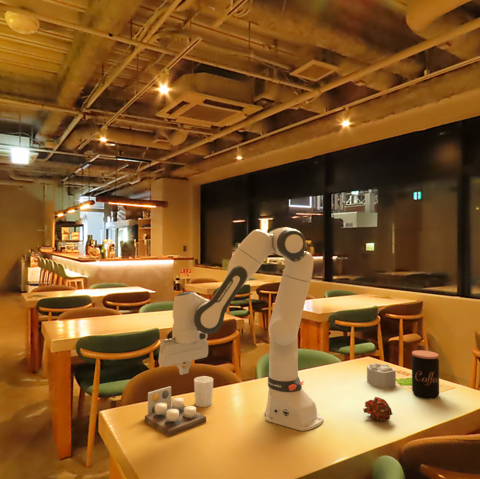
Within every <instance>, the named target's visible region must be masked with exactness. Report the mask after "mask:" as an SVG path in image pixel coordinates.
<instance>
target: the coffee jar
mask: <svg viewBox="0 0 480 479" xmlns="http://www.w3.org/2000/svg"><path fill="white" fill-rule="evenodd" d="M411 355H412V358H411V380H412V381H411V391H412V393H413V394H414V396H416V397H417V398H422V399H427V400H434V399H438V397H439V396H440V361H439V356H440V354H438V353H437V352H434V351H429V350H422V349H420V350H419V349H418V350H412V352H411Z"/></svg>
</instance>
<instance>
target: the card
mask: <svg viewBox="0 0 480 479" xmlns="http://www.w3.org/2000/svg"><path fill="white" fill-rule="evenodd" d="M157 403H166V404H167V408H170V407H172V386H170V385H169V386H167V387H163V388H158V389H155V390H153V391H152V390H151V391H149V392H147V415H149V414H152V413H155V404H157Z"/></svg>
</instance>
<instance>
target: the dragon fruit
mask: <svg viewBox="0 0 480 479" xmlns="http://www.w3.org/2000/svg"><path fill="white" fill-rule="evenodd" d="M364 407H365V408H362V410H363V413H365V414H368V415H370V416H369V417H370V419H371V420H373V421H374V420H376V421H379V422H384V421H389V420H390V419H391V416H392V415H393V412H392V408H391V406H390V404H389V403H388V402H387V400H386V399H384V398H381V397H378V396H375V397H374V399H369V400H366V401H365V403H364Z"/></svg>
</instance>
